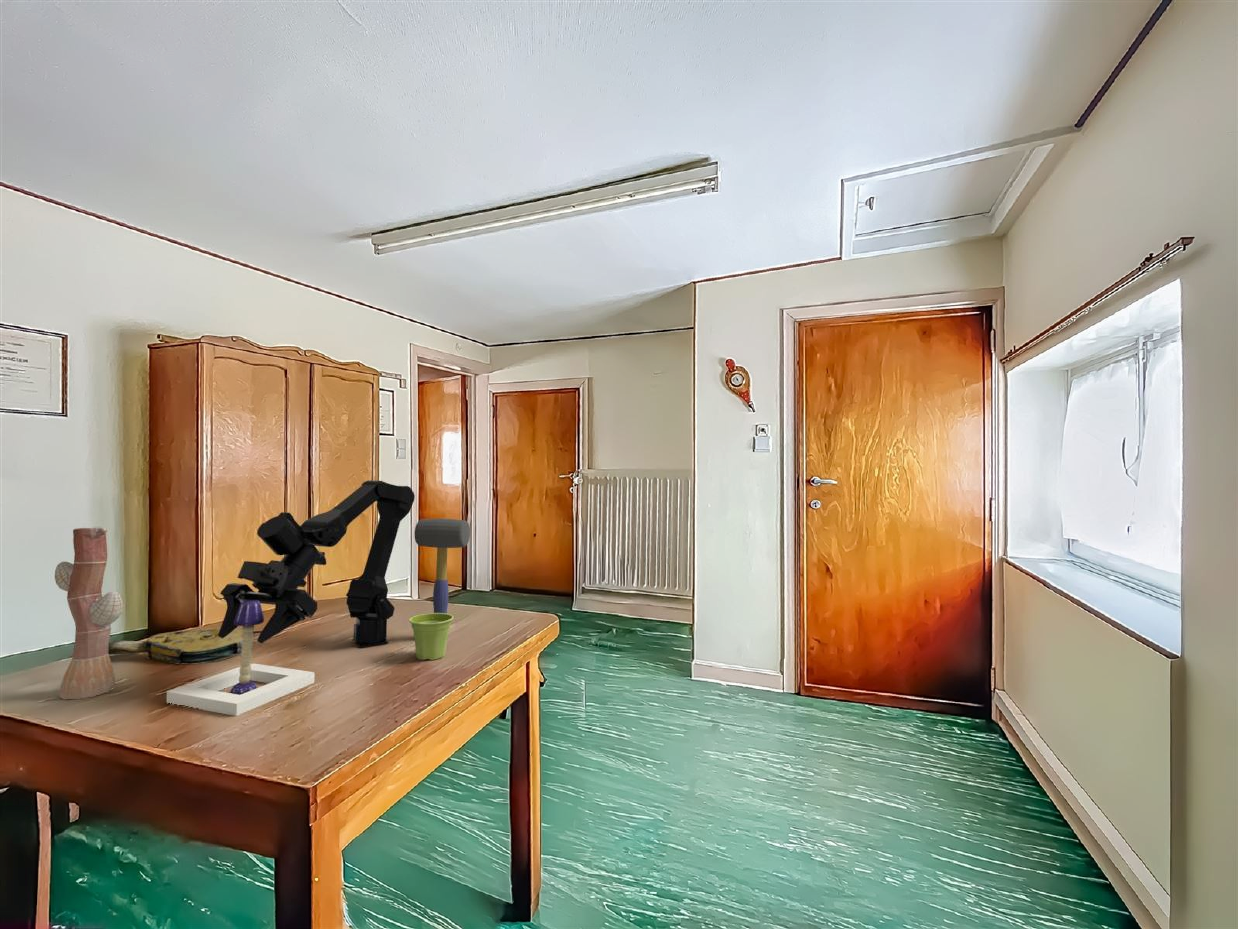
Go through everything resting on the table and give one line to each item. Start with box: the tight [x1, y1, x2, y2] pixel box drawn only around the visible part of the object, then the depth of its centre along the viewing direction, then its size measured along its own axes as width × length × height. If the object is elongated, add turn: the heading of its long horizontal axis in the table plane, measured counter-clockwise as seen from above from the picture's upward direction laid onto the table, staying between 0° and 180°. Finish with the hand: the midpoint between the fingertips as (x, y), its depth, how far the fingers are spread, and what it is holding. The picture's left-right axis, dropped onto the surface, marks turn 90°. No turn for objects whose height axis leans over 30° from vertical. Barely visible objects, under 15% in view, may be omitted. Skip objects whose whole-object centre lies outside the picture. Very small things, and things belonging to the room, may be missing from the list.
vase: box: [54, 526, 124, 700], centre depth 101 cm, size 10×7×30 cm
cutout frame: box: [166, 662, 315, 717], centre depth 102 cm, size 16×16×2 cm
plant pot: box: [408, 612, 454, 661], centre depth 125 cm, size 9×9×9 cm
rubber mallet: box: [414, 518, 471, 614], centre depth 140 cm, size 12×8×30 cm, turn 85°
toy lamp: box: [229, 600, 265, 695], centre depth 102 cm, size 5×5×17 cm
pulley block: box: [108, 626, 262, 665], centre depth 122 cm, size 14×6×30 cm
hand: (239, 639), depth 101 cm, fingers open, 9 cm apart
